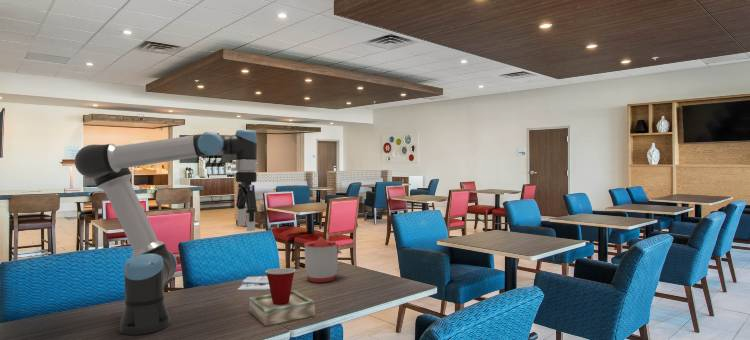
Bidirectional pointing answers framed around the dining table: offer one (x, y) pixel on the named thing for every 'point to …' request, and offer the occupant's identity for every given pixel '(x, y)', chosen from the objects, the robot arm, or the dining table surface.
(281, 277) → the plastic cup
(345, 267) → the dining table surface
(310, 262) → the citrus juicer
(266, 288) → the white flat piece
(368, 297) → the dining table surface
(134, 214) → the robot arm
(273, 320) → the stand
